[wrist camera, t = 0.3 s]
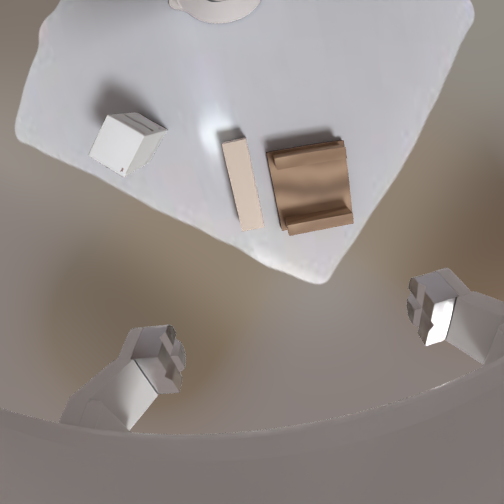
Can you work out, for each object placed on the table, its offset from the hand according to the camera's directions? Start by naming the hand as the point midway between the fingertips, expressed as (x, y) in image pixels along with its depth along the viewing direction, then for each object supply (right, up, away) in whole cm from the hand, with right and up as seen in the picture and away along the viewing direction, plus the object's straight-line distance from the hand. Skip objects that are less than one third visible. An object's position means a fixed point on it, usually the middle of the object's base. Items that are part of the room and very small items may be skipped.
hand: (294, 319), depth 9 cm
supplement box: (-21, +23, +40) cm, 50 cm away
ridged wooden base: (+10, +15, +44) cm, 47 cm away
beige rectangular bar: (-3, +15, +44) cm, 47 cm away
